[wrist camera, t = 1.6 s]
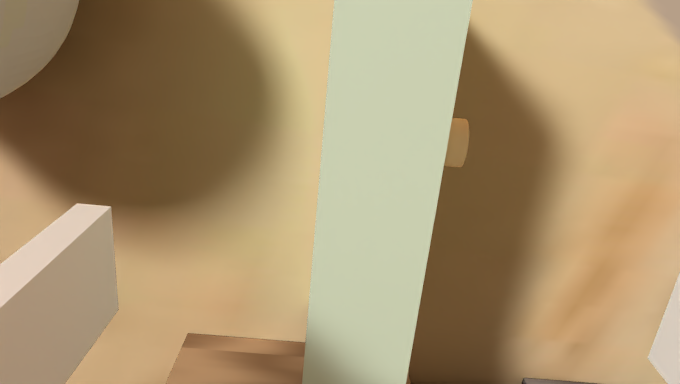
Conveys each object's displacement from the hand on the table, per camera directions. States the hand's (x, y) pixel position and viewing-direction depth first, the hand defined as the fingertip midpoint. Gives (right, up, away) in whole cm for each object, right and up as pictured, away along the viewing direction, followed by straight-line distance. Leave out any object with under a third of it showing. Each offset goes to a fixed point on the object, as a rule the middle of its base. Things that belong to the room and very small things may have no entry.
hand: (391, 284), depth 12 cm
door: (0, +4, +9) cm, 10 cm away
